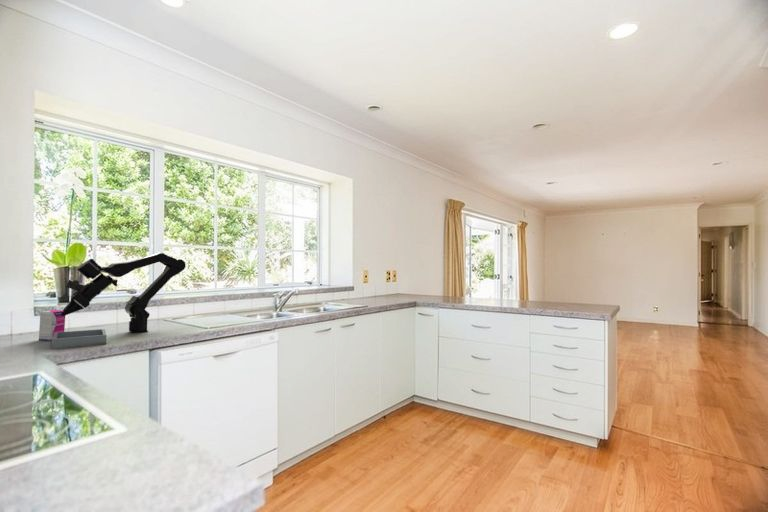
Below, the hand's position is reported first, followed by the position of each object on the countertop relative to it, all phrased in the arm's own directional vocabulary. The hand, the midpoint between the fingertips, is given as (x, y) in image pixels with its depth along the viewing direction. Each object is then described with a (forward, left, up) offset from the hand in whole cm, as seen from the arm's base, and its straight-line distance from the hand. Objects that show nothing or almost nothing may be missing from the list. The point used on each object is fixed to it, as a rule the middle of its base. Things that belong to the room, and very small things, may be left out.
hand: (61, 314), depth 160 cm
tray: (-6, +13, -10) cm, 17 cm away
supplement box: (+3, 0, -10) cm, 11 cm away
